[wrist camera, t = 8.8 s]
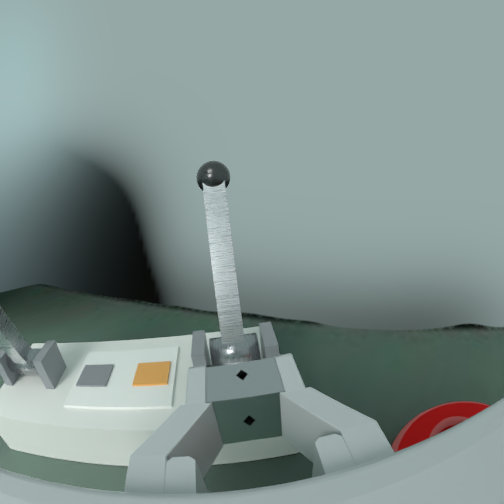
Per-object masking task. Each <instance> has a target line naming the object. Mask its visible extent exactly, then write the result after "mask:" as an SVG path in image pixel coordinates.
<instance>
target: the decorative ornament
mask: <svg viewBox="0 0 504 504" xmlns="http://www.w3.org/2000/svg"><path fill="white" fill-rule="evenodd" d="M489 406H491V405H488V404H484V403H479V402H472V401H457V402H449V403H444V404H441V405H437V406H435V407H432V408H430V409H428V410H426V411H424V412H422V413H420V414H418V415H417V416H415V417H414V418H413V419H412V420H410V421H409V422H408V423H407V424H406V425H405V426H404V427H403V429H402V430H401V431H400V432H399V434H398V435H397V437H396V438H395V440H394V442H393V444H392V446H391V447H392V449H393V451H394V452H397V451H400V450H402V449H405V448H407V447H409V446H412V445H414V444H417V443H419V442H421V441H424V440H426V439H428V438H430V437H432V436H435V435H437V434H439V433H441V432H443V431H445V430H447V429H449V428H451V427H453V426H455V425H457V424H459V423H461V422H463V421H465V420H466V419H468V418H470V417H472V416H474V415H476V414H477V413H479V412H481V411H483V410H484V409H486V408H488V407H489Z"/></svg>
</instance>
